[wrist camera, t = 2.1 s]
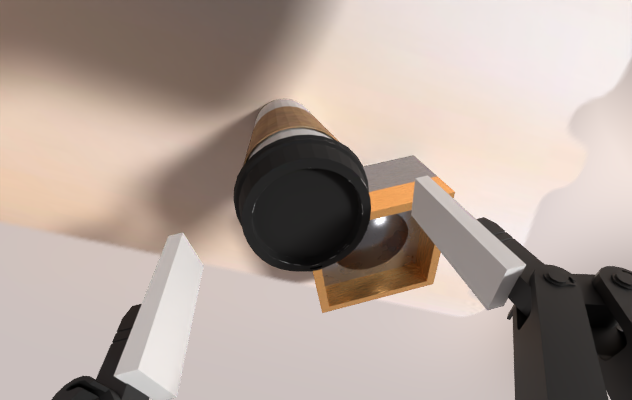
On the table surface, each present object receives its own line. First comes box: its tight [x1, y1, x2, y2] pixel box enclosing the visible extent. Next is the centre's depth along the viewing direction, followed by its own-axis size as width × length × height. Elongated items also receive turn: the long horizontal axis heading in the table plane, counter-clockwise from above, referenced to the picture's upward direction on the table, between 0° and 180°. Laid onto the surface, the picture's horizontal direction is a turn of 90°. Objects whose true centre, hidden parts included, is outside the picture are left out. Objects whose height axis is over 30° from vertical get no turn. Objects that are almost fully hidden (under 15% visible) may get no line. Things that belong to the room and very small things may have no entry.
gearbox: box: [313, 156, 455, 313], centre depth 32 cm, size 15×15×8 cm
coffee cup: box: [234, 99, 371, 271], centre depth 20 cm, size 8×8×15 cm
